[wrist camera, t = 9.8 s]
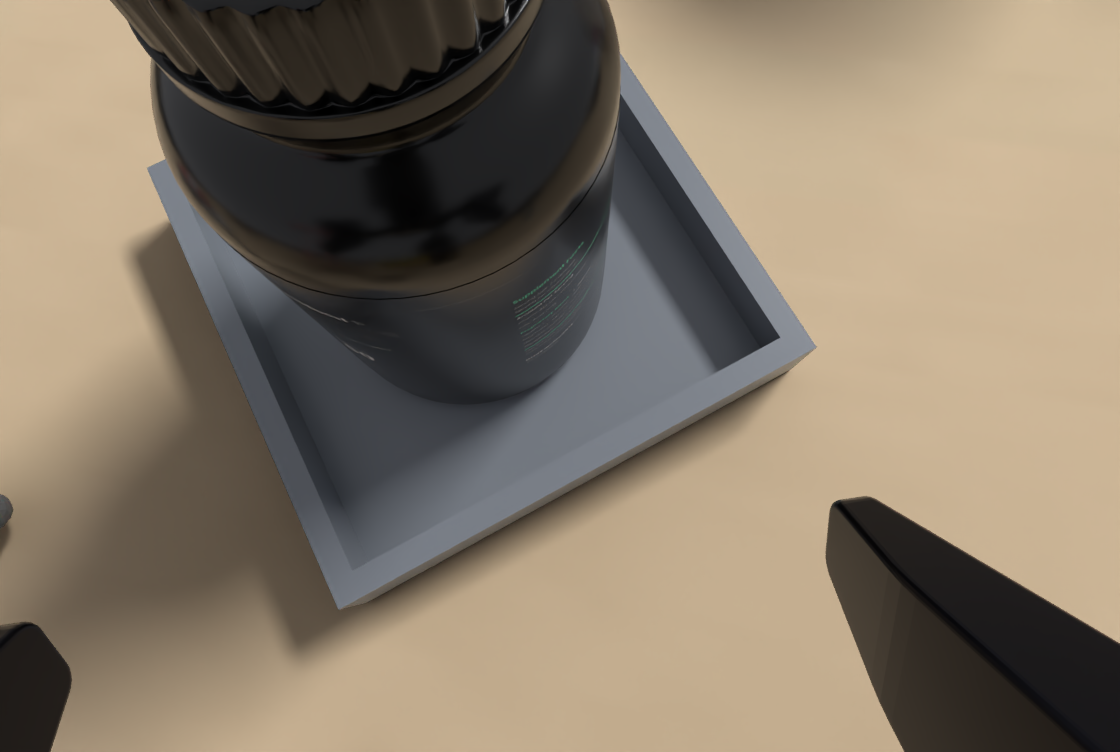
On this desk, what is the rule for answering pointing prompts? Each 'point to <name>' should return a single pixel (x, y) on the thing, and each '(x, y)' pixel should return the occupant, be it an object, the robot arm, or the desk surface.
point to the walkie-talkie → (5, 510)
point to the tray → (518, 421)
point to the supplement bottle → (403, 169)
